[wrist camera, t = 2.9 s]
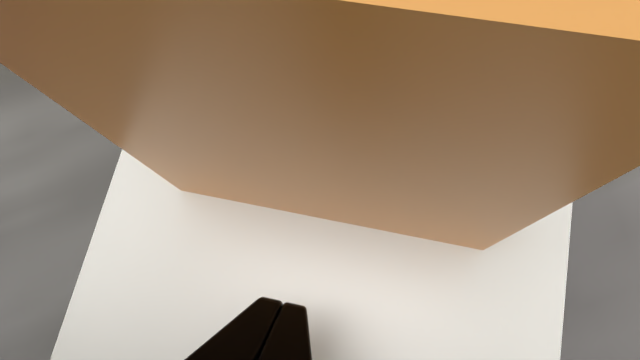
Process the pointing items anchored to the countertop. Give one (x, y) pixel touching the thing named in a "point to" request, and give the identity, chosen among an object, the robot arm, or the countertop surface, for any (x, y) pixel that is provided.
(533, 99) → the lid
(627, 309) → the countertop surface
